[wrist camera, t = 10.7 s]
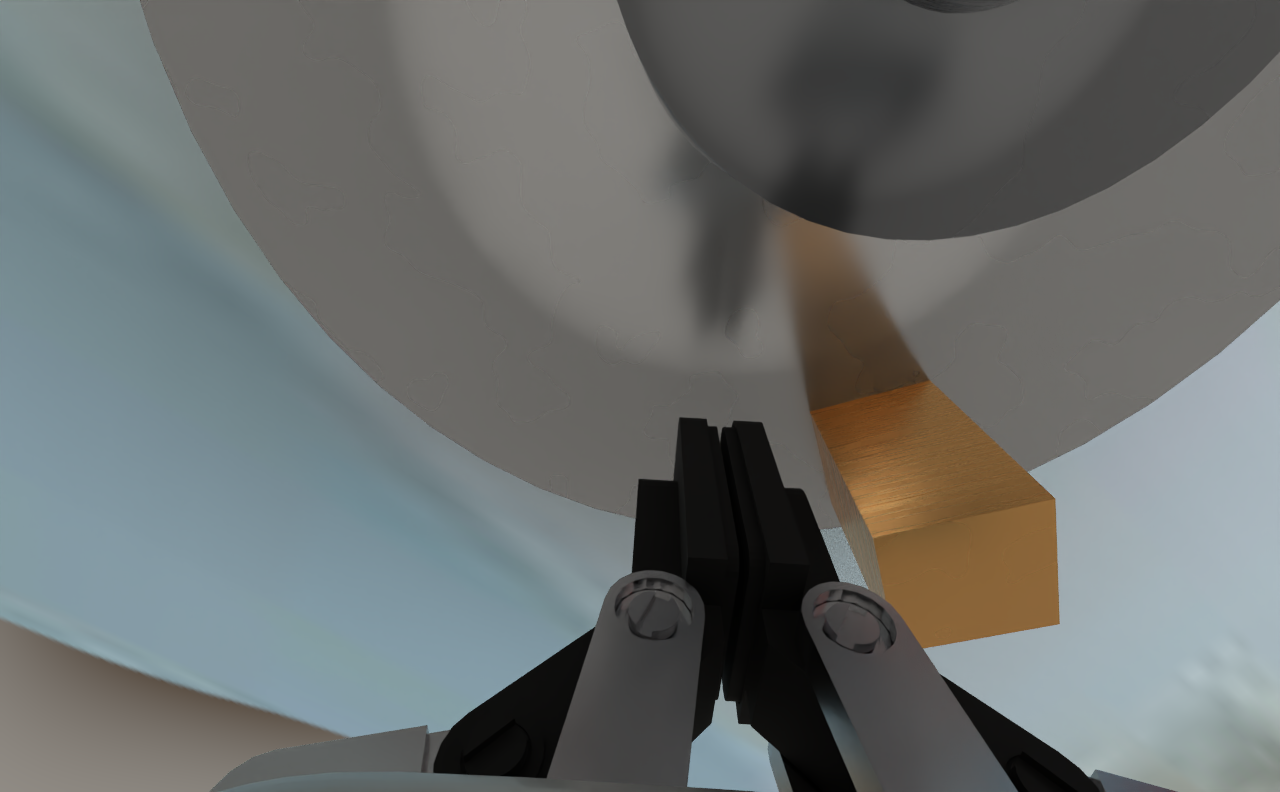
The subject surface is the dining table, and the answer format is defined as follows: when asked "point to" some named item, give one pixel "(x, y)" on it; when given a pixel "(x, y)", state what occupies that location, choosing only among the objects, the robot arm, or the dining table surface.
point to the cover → (943, 98)
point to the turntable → (709, 281)
